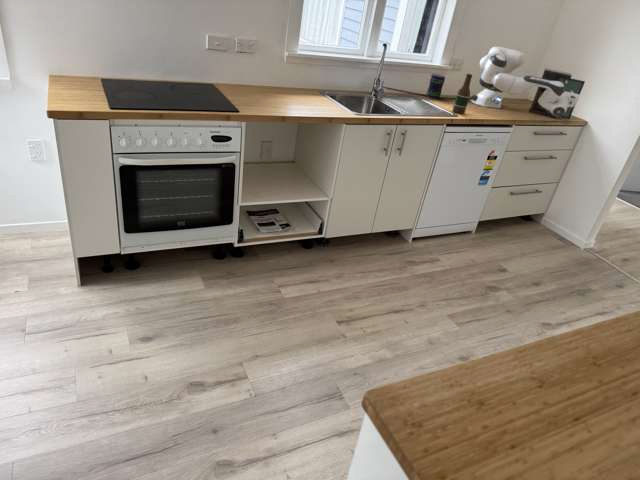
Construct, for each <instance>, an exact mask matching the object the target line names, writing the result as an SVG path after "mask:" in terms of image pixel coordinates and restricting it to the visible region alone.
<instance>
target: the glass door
mask: <svg viewBox="0 0 640 480" xmlns="http://www.w3.org/2000/svg"><path fill="white" fill-rule="evenodd" d="M557 81H560V82H562V83H563V84H564V86H565V91H566V92H570V91H573V93H575V94H579V95H581V93H582V90H583V87H584V85H585V83H586V81H585V80H581V79H576V78H572V77H571V78H567V77H562V76H559V78H558V80H557ZM576 105H577V103H576V104H575V105H574V107H567V110H566V112H565V113H564V114H563V115H562V116H556V117H558V118H562V119H566V120H570V119H571V116H572V114H573V112H574V109H575V107H576ZM545 114H549V115H553V114H552V113H551V111H546V112H545ZM553 116H554V115H553Z"/></svg>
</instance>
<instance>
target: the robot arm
mask: <svg viewBox="0 0 640 480" xmlns="http://www.w3.org/2000/svg"><path fill="white" fill-rule="evenodd" d="M525 60H526V56H525V53H523V52H522V51H519V50H517V49H513V48H508V47H505V46H493V47H491V48H490V50H489V51H488V54H486V55H484V56H483V57H482V58H481V59H480V61H479V68H480V70H482V73H481V76H480V77H479V81H478V82H479V85H480V86H481V87H483V88H484V89H483V90H482V91H480V92H479V93H477V94H472V96H470V97H469V100H470V99H471V101H470V102H471V103H473V104H475V105H478V106H481V107H483V108H484V107H485V108H496V109H501V108H502V102H503V97H504V96H503V95H504V93H506V94H508V95H510V96H517V95H520V94H521V93H523V92H525V91H526V90H527V89H530V88H531V87H538V86H539V87H543V88H547V89H546V90H545V92H544V93H543V94H542V95H541V97H540V98H539V100H538V104H539V106H540V108H542V109H543V110H546V111H551V113H552V114H553V115H554V116H555V117H557V116H562V115H563V114H564V113H565V112H566V110H567V107H574V105H575V104H576V105H577V103H578V101H579V99H580V97H581V96H580V95H581V94H580V95H579V94H575V93H573V91H570V92H566V91H565V86H564V84H563V83H562V82H560V81H553V80H547V79H543V78H542V77H539V76H533V75H524V76H515V75H512V73H513V72H514V71H515V70H516V69H518V68H520V67H521V66H523V64H524V63H525ZM383 89H387V90H393V91H398V92H403V93H407V94H413V95H419V96H424V97H427V94H425V93H419V92H414V91H408V90H402V89H398V88H392V87H388V86H383ZM440 99H445V100H447V99H448V100H456V97H446V96H440ZM576 105H575V106H576ZM574 108H575V107H574Z"/></svg>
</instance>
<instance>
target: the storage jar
mask: <svg viewBox="0 0 640 480" xmlns="http://www.w3.org/2000/svg"><path fill="white" fill-rule="evenodd" d="M445 80H446V76H445V75H442V74H437V73H431V76H430V78H429V84H428V87H427V90H426V95H427V96H426V97H427V98H429V99H433V100H440V99H441V98H440V97H441V96H442V90H443V86H444V83H445Z"/></svg>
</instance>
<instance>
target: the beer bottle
mask: <svg viewBox="0 0 640 480" xmlns="http://www.w3.org/2000/svg"><path fill="white" fill-rule="evenodd" d="M472 78H473V74H471V73H466V75H465V79H464V81H463V84H462V86H461V87H460V88H459V89H458V91H457V93H456V97H455V98H456V99H454V104H453V106H452V112H453V113H454V114H458V115H464V114H465V112H466V110H467V107H468V104H469V100H470V99H469V98H471V90H470V85H471V82H472Z"/></svg>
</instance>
